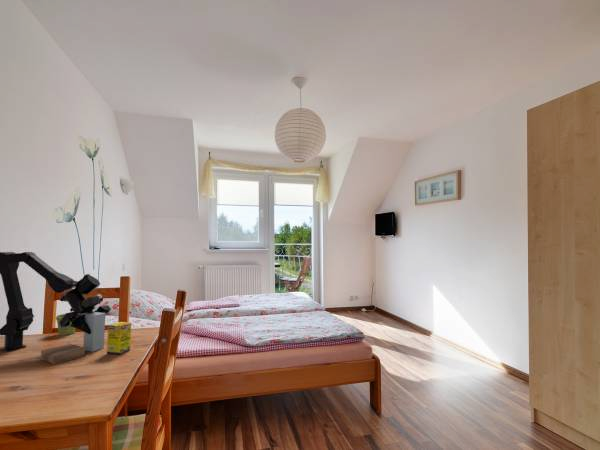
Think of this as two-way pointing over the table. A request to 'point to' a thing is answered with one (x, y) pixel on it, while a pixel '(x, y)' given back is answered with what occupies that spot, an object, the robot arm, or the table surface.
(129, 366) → the table surface
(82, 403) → the table surface
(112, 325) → the supplement box
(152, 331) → the table surface
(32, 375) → the table surface
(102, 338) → the slate block
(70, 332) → the plant pot
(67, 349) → the walnut block
